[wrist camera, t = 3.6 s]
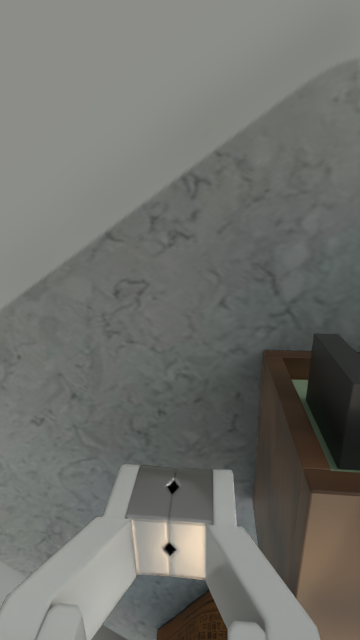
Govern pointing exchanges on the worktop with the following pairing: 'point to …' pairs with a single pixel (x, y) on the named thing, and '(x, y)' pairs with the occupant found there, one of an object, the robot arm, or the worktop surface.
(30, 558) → the worktop surface
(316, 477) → the brown wooden box
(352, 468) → the sliding door
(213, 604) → the pancake mix bag
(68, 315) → the worktop surface
